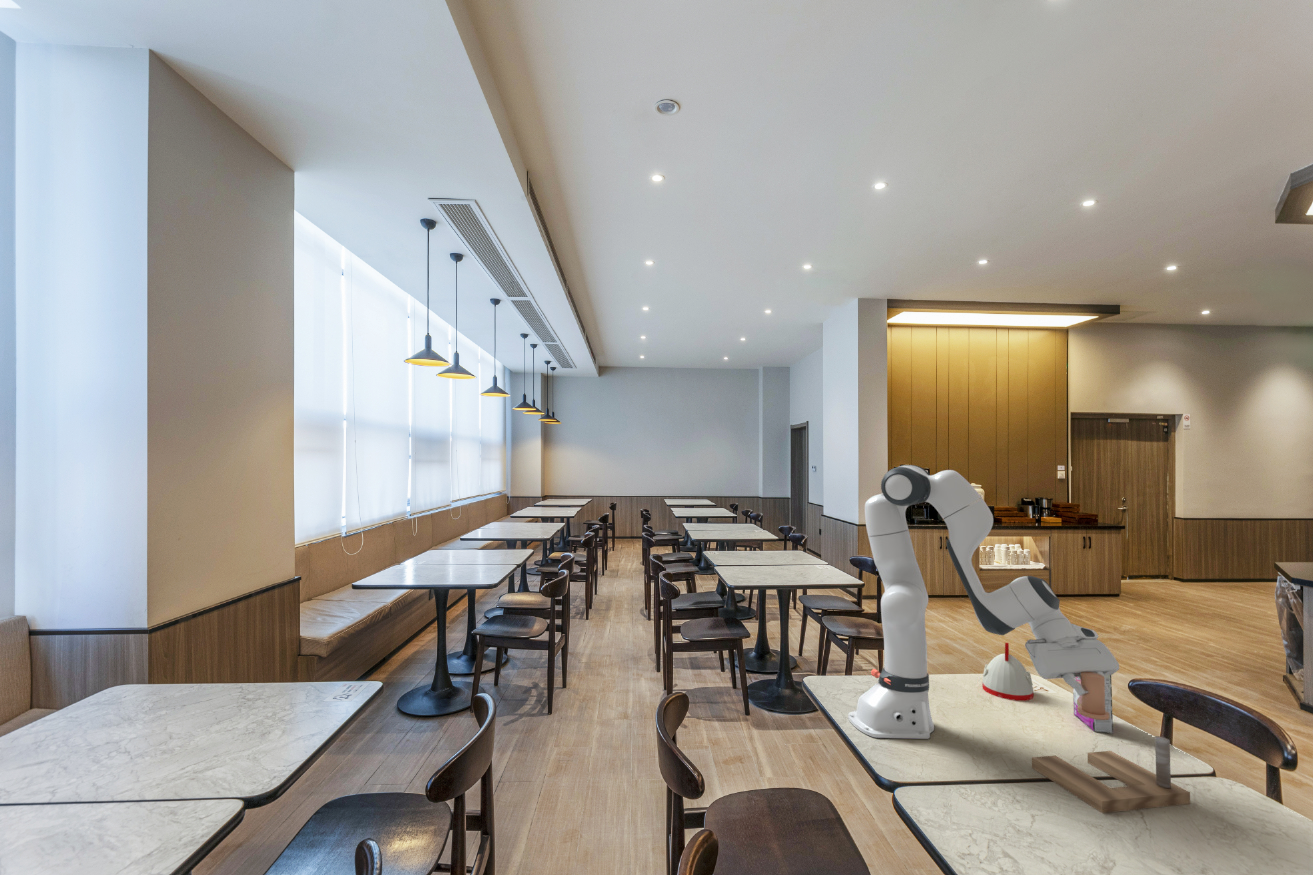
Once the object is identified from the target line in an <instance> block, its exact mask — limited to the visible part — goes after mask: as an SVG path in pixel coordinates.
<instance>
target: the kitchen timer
mask: <svg viewBox="0 0 1313 875" xmlns="http://www.w3.org/2000/svg"><path fill="white" fill-rule="evenodd" d="M1009 649H1010V646H1009V642H1005V644H1004V653H1001V654H998V655H996V656H995V657H993V658H992V659H991V660H990V662H988V664H987V663H986V664H985V665H984V668H983V675H982V682H981V683H982V690H983V691H985V692H986V693H987V694H990V695H991V696H994V697H997V698H1000V699H1006V700H1010V701H1017V702H1018V701H1020V702H1021V701H1022V702H1023V701H1030V700H1033V698H1034V686H1033V680H1032V676H1031V672H1030V671H1027V670H1026V668H1025V666H1024V665H1023V664H1022V662H1021V661H1020V660H1019V659H1018V658H1016V657H1015V656H1014V655H1012V654H1011V653H1010V650H1009Z"/></svg>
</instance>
